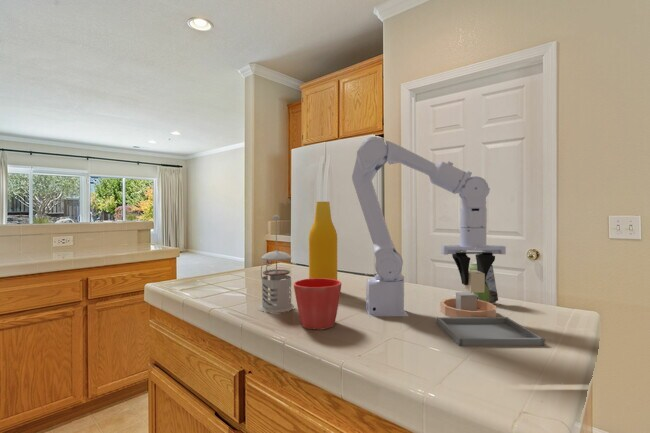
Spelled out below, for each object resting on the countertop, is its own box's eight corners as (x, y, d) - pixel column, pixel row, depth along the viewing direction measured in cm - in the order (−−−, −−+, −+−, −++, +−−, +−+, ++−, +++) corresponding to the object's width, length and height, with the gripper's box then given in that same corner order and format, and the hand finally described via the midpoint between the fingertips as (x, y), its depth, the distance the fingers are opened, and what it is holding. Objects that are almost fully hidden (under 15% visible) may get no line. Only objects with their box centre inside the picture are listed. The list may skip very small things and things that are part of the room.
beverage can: (501, 307, 91) (501, 262, 90) (471, 305, 92) (472, 262, 92) (494, 301, 97) (494, 259, 97) (467, 300, 98) (467, 258, 98)
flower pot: (294, 317, 82) (293, 278, 82) (338, 316, 83) (338, 277, 83) (293, 333, 72) (293, 287, 72) (344, 331, 73) (344, 286, 72)
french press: (270, 315, 84) (270, 215, 84) (248, 305, 93) (247, 215, 92) (302, 308, 90) (301, 214, 90) (278, 299, 99) (277, 214, 99)
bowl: (452, 324, 77) (452, 311, 77) (434, 308, 90) (434, 298, 90) (506, 324, 77) (506, 311, 77) (481, 308, 90) (481, 297, 90)
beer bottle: (340, 289, 111) (340, 201, 111) (332, 296, 103) (332, 201, 102) (314, 287, 114) (314, 202, 114) (304, 294, 105) (304, 201, 105)
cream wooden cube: (484, 292, 78) (484, 273, 78) (470, 292, 78) (470, 273, 78) (476, 288, 82) (477, 270, 82) (463, 288, 82) (463, 270, 82)
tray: (459, 348, 63) (459, 339, 63) (436, 325, 76) (436, 317, 76) (544, 348, 63) (544, 339, 63) (507, 325, 76) (507, 317, 76)
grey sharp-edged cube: (460, 312, 84) (460, 295, 84) (455, 309, 87) (455, 292, 87) (476, 312, 84) (476, 295, 84) (471, 309, 87) (471, 292, 87)
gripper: (448, 228, 76) (448, 288, 76) (512, 228, 76) (512, 288, 76) (438, 226, 83) (438, 281, 84) (497, 226, 83) (496, 281, 83)
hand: (472, 284), depth 80 cm, fingers closed on cream wooden cube, 3 cm apart
